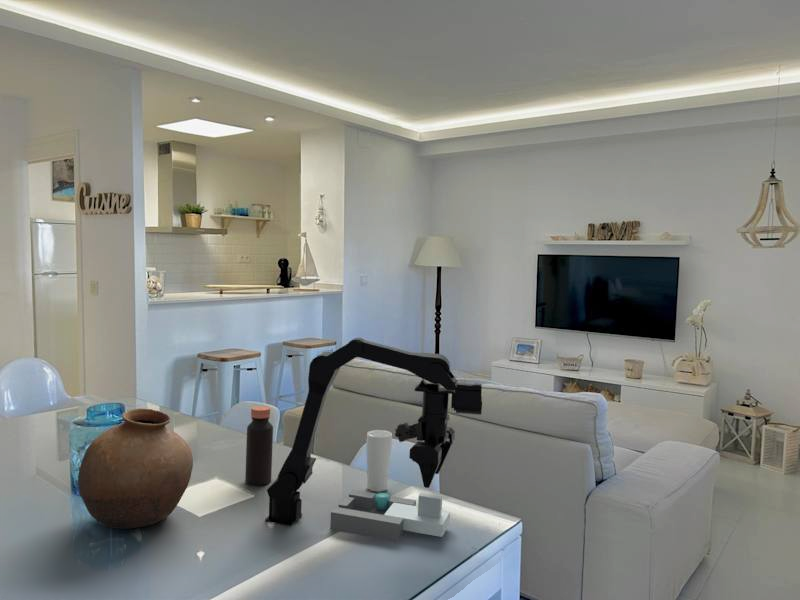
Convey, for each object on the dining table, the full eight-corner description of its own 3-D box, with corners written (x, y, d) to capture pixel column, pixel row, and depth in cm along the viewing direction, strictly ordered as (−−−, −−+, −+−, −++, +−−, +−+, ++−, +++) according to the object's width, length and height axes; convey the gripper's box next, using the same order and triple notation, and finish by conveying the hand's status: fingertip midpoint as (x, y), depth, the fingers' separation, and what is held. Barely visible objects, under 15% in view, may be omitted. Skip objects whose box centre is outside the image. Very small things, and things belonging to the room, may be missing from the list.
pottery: (82, 508, 137) (84, 402, 135) (188, 497, 146) (190, 397, 145) (71, 554, 116) (73, 429, 115) (195, 537, 125) (198, 421, 124)
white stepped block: (383, 526, 132) (384, 495, 132) (393, 513, 139) (394, 483, 139) (442, 537, 128) (444, 504, 128) (449, 523, 135) (450, 492, 135)
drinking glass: (386, 495, 153) (389, 438, 153) (361, 491, 155) (364, 435, 154) (392, 485, 160) (394, 431, 159) (368, 482, 161) (370, 428, 161)
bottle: (256, 488, 154) (259, 412, 153) (239, 481, 158) (242, 407, 157) (276, 481, 159) (279, 408, 158) (260, 475, 163) (262, 403, 162)
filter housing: (330, 529, 132) (330, 512, 132) (352, 505, 146) (353, 490, 145) (398, 542, 128) (399, 524, 127) (415, 516, 141) (416, 500, 141)
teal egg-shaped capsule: (373, 508, 141) (373, 497, 141) (377, 503, 144) (378, 492, 144) (386, 510, 140) (387, 499, 140) (391, 505, 143) (391, 494, 143)
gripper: (411, 399, 143) (408, 462, 143) (387, 417, 125) (384, 489, 126) (456, 404, 139) (453, 469, 140) (439, 423, 122) (435, 497, 122)
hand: (431, 480), depth 132 cm, fingers open, 9 cm apart
